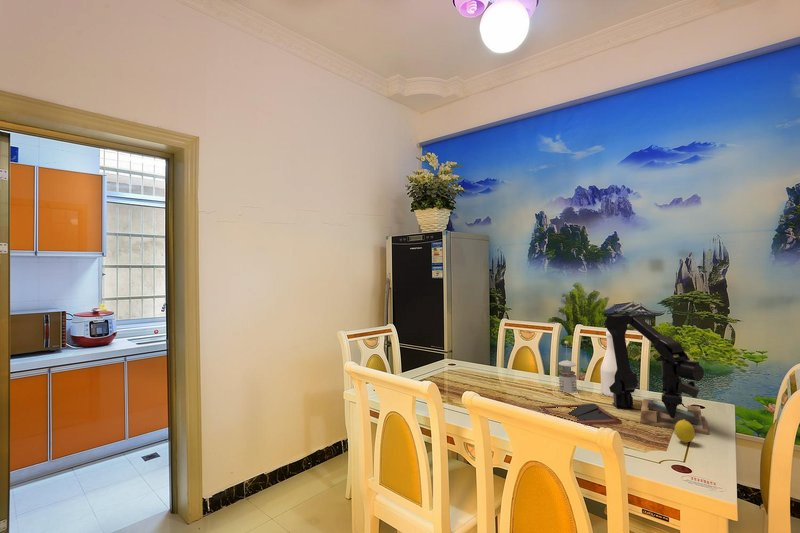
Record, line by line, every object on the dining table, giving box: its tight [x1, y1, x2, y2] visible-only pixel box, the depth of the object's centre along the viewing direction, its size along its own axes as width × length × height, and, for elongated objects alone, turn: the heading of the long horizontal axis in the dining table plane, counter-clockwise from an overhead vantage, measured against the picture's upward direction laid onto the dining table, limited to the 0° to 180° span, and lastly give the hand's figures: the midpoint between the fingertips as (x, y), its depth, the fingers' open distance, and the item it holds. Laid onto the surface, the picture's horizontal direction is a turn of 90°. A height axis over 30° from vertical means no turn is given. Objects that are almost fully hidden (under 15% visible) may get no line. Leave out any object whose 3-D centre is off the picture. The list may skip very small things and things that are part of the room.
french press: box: [558, 340, 579, 393], centre depth 196 cm, size 10×12×25 cm
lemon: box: [674, 419, 696, 444], centre depth 136 cm, size 6×6×8 cm
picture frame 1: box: [537, 403, 623, 426], centre depth 164 cm, size 20×2×25 cm
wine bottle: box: [600, 330, 617, 398], centre depth 189 cm, size 10×10×30 cm
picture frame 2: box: [647, 399, 699, 425], centre depth 151 cm, size 16×5×2 cm, turn 56°
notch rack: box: [639, 398, 709, 435], centre depth 155 cm, size 21×17×5 cm
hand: (672, 415), depth 151 cm, fingers closed on picture frame 2, 5 cm apart
